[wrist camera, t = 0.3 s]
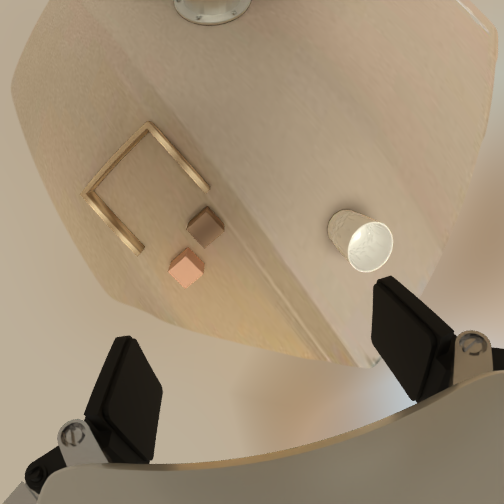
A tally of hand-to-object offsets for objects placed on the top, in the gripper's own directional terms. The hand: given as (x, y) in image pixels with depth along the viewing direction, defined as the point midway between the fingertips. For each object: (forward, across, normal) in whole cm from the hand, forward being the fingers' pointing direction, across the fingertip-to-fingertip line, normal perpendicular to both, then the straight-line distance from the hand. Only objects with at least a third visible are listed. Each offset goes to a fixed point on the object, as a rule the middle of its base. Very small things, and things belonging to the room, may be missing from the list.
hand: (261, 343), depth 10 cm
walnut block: (+36, +5, +4) cm, 36 cm away
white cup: (+36, -18, +10) cm, 42 cm away
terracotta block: (+36, +9, +10) cm, 38 cm away
